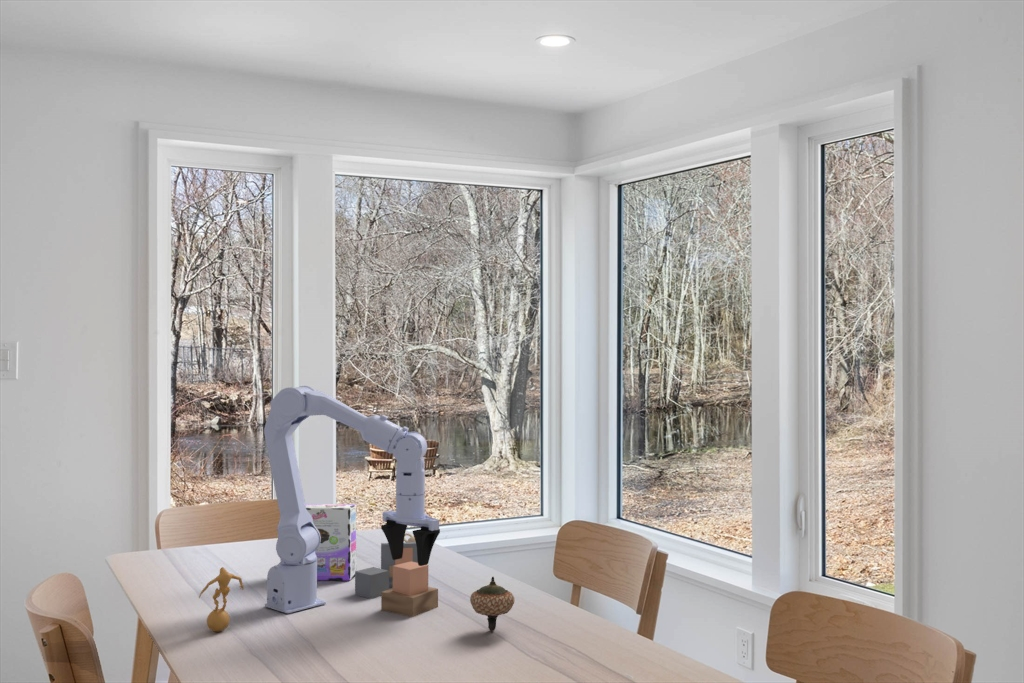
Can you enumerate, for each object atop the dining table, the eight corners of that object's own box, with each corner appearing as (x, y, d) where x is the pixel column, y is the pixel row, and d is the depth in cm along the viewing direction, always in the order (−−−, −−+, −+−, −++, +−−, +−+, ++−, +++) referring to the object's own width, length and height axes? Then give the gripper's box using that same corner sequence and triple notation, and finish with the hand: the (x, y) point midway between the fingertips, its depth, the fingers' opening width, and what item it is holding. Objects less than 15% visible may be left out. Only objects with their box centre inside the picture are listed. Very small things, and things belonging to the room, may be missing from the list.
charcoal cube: (370, 599, 185) (370, 575, 185) (355, 595, 188) (355, 571, 188) (388, 594, 189) (388, 570, 189) (373, 590, 192) (373, 567, 192)
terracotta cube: (409, 595, 174) (410, 569, 174) (392, 591, 178) (392, 565, 178) (428, 590, 178) (428, 565, 178) (411, 586, 181) (411, 561, 181)
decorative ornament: (413, 561, 218) (413, 539, 218) (400, 554, 226) (400, 533, 226) (429, 559, 220) (429, 538, 220) (415, 553, 228) (415, 531, 228)
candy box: (357, 575, 205) (357, 503, 205) (349, 581, 199) (350, 507, 199) (299, 573, 206) (299, 502, 206) (290, 580, 200) (290, 506, 201)
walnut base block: (413, 618, 173) (413, 597, 173) (381, 612, 177) (381, 591, 177) (438, 608, 179) (438, 588, 179) (406, 602, 184) (406, 583, 184)
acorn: (501, 641, 158) (501, 584, 158) (461, 634, 162) (461, 579, 162) (522, 628, 166) (522, 574, 166) (483, 622, 169) (483, 569, 169)
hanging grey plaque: (426, 586, 195) (427, 545, 195) (380, 588, 193) (380, 546, 193) (426, 579, 200) (426, 539, 201) (381, 581, 199) (381, 540, 199)
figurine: (234, 624, 168) (235, 560, 168) (249, 631, 163) (249, 565, 163) (191, 633, 162) (191, 567, 162) (204, 641, 158) (205, 573, 158)
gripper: (450, 495, 177) (450, 563, 176) (400, 487, 186) (400, 552, 186) (424, 499, 171) (424, 570, 171) (374, 491, 181) (374, 558, 181)
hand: (410, 561), depth 178 cm, fingers open, 7 cm apart
